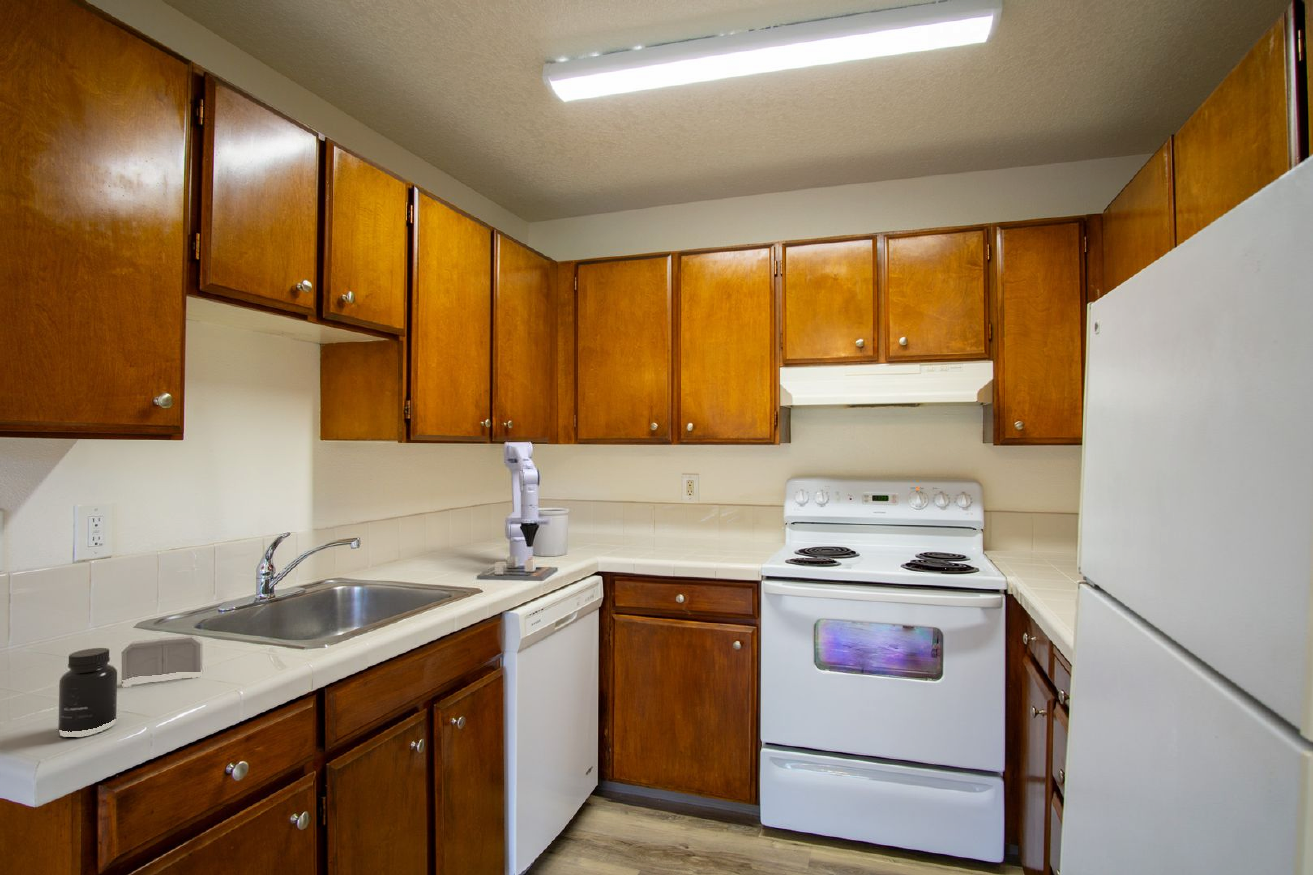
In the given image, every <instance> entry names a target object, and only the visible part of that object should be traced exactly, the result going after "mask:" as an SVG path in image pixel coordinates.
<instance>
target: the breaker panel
mask: <svg viewBox="0 0 1313 875" xmlns="http://www.w3.org/2000/svg"><path fill="white" fill-rule="evenodd" d="M506 564H507V566H506ZM558 570H559V568H558V567H556V566H554V567H553V566H536V570H535V571H533V572H531V571H525V566H518V556H510V555H508V556H507V558H506V561H496V562H494V566H493V567H491V568H489V569H487V570H485V571H483V572H481V573H479V574H477V575H476V580H493V581H495V580H496V581H497V580H499V581H500V580H501V581H534V582H535V581H536V582H538V581H539V582H543V581H545V580H546V579H548V578H549V577H550V576H552V575H554V574H555V573H557V572H558Z"/></svg>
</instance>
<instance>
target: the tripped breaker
mask: <svg viewBox="0 0 1313 875" xmlns="http://www.w3.org/2000/svg"><path fill="white" fill-rule="evenodd" d="M536 564H537V562H536V558H534V557H533V558H529V559H526V560H525V566H524V567H525V571H531V572H533V571H535V570H536V567H537V566H536Z"/></svg>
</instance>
